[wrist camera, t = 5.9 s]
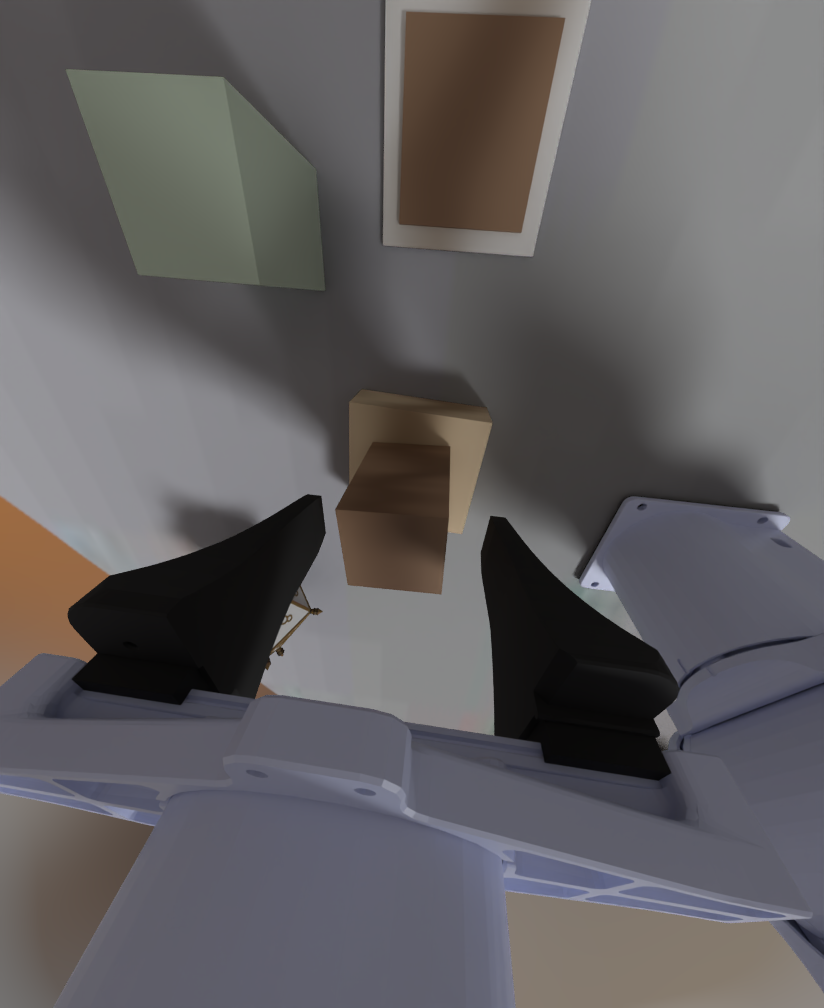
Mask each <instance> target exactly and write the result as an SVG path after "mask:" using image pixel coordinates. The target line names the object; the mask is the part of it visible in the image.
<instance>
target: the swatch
mask: <svg viewBox="0 0 824 1008" xmlns="http://www.w3.org/2000/svg"><path fill="white" fill-rule="evenodd" d="M590 4H591V0H386V12H385V104H384V197H383V246H391V247H405V248H418V249H431V250H444V251H458V252H471V253H484V254H497V255H510V256H524V257H533V253H534V249H535V244H536V240H537V236H538V231H539V227H540V223H541V218H542V214H543V209H544V205H545V201H546V196H547V192H548V188H549V183H550V179H551V175H552V170H553V166H554V161H555V157H556V153H557V148H558V144H559V140H560V135H561V131H562V127H563V122H564V118H565V113H566V109H567V105H568V100H569V96H570V92H571V87H572V83H573V79H574V74H575V70H576V65H577V61H578V57H579V52H580V48H581V44H582V39H583V35H584V31H585V26H586V22H587V17H588V13H589V9H590Z"/></svg>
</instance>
